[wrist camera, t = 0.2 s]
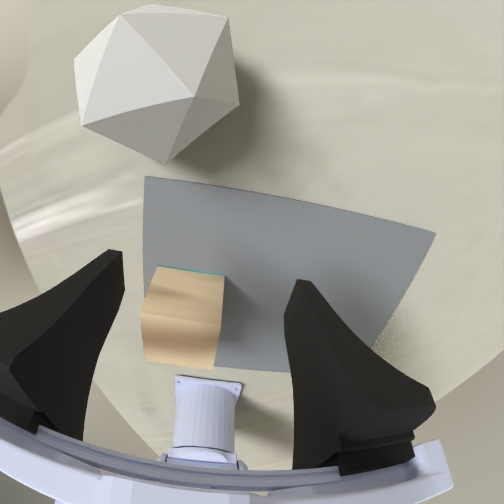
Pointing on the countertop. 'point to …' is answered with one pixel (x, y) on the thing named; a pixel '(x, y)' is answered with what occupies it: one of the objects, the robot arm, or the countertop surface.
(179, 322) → the oak block
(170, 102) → the die
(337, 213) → the rubber mat
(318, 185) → the countertop surface
